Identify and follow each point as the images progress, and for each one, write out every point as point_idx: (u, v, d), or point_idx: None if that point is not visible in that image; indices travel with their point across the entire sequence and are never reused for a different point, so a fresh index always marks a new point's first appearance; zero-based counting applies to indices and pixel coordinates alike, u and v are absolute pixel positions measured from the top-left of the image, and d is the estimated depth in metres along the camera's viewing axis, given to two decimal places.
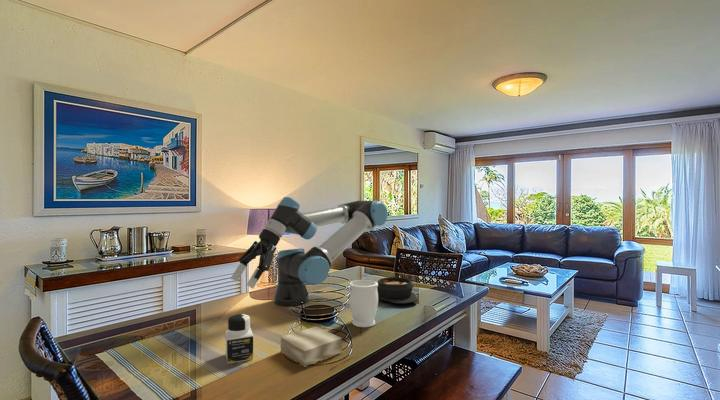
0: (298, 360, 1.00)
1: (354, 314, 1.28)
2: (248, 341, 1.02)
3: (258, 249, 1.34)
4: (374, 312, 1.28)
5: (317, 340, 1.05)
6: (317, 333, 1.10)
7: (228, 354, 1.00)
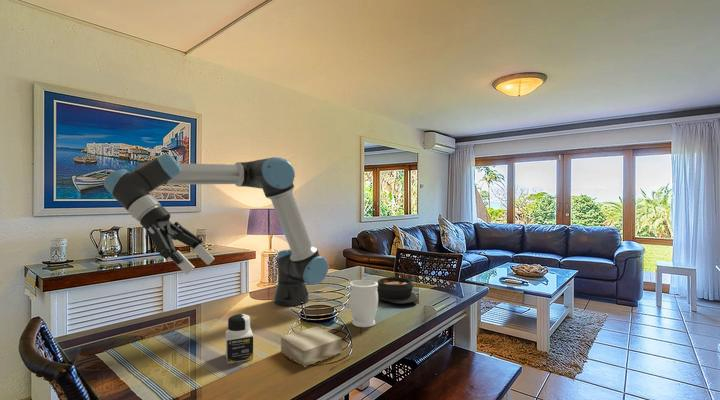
0: (298, 360, 1.00)
1: (354, 314, 1.28)
2: (248, 341, 1.02)
3: None
4: (374, 312, 1.28)
5: (317, 340, 1.05)
6: (317, 333, 1.10)
7: (228, 354, 1.00)
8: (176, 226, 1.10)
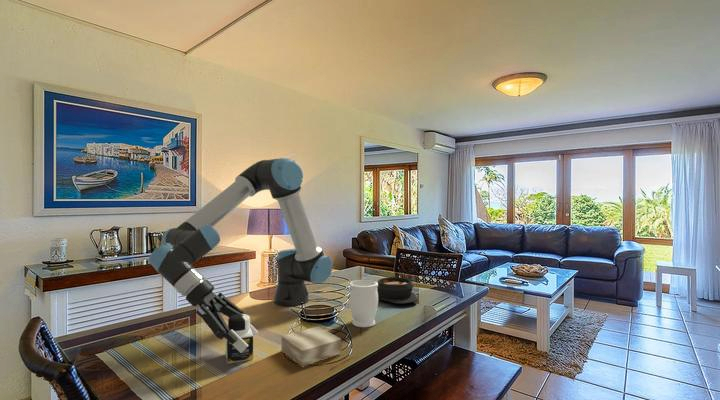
0: (296, 360, 1.01)
1: (354, 314, 1.28)
2: (248, 341, 1.02)
3: None
4: (374, 312, 1.28)
5: (317, 340, 1.05)
6: (317, 333, 1.10)
7: (228, 354, 1.00)
8: None
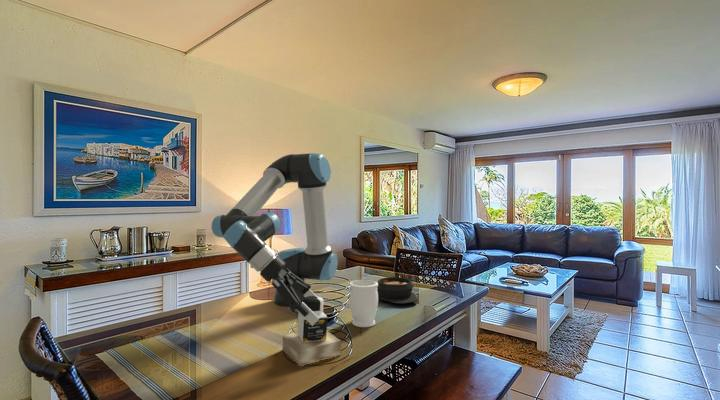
0: (295, 359, 1.01)
1: (354, 314, 1.28)
2: (322, 322, 1.04)
3: None
4: (374, 312, 1.28)
5: (316, 341, 1.05)
6: None
7: (304, 333, 1.02)
8: None
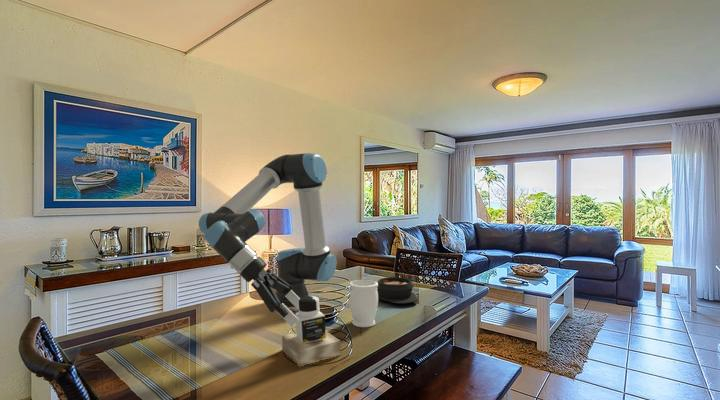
0: (294, 360, 1.01)
1: (354, 314, 1.28)
2: (320, 321, 1.04)
3: None
4: (374, 312, 1.28)
5: (316, 341, 1.04)
6: None
7: (303, 334, 1.02)
8: None
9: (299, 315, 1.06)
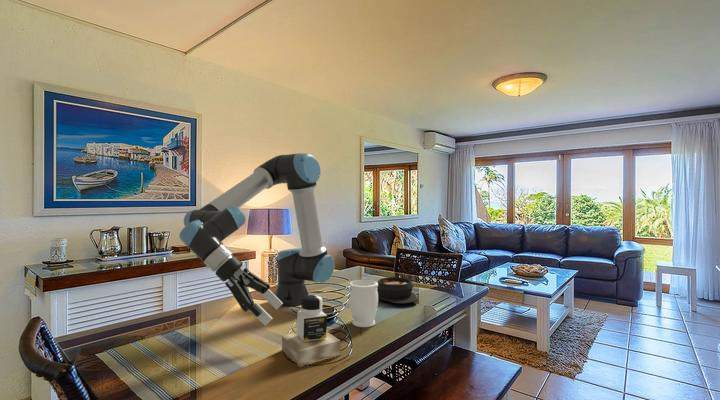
0: (294, 360, 1.01)
1: (354, 314, 1.28)
2: (322, 321, 1.05)
3: None
4: (374, 312, 1.28)
5: (316, 341, 1.04)
6: None
7: (304, 332, 1.03)
8: (246, 272, 1.13)
9: (301, 313, 1.06)
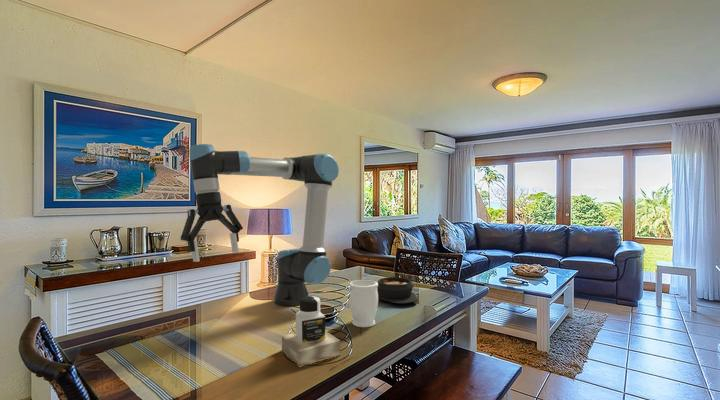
0: (294, 360, 1.01)
1: (354, 314, 1.28)
2: (320, 322, 1.05)
3: None
4: (374, 312, 1.28)
5: (315, 341, 1.04)
6: None
7: (303, 334, 1.03)
8: None
9: (300, 315, 1.06)
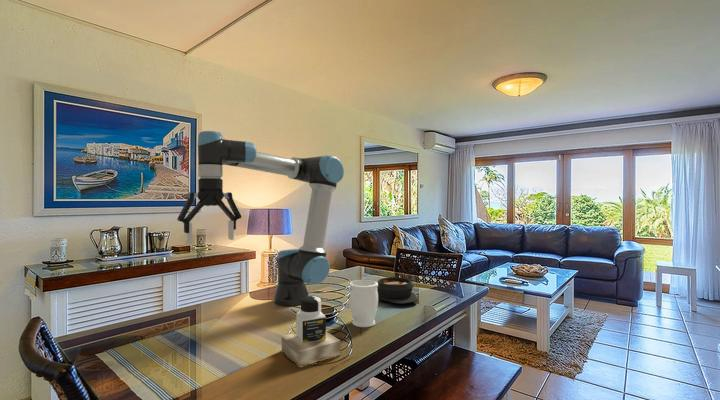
0: (295, 360, 1.00)
1: (354, 314, 1.28)
2: (321, 322, 1.05)
3: None
4: (374, 312, 1.28)
5: None
6: None
7: (303, 334, 1.02)
8: None
9: (300, 315, 1.06)
